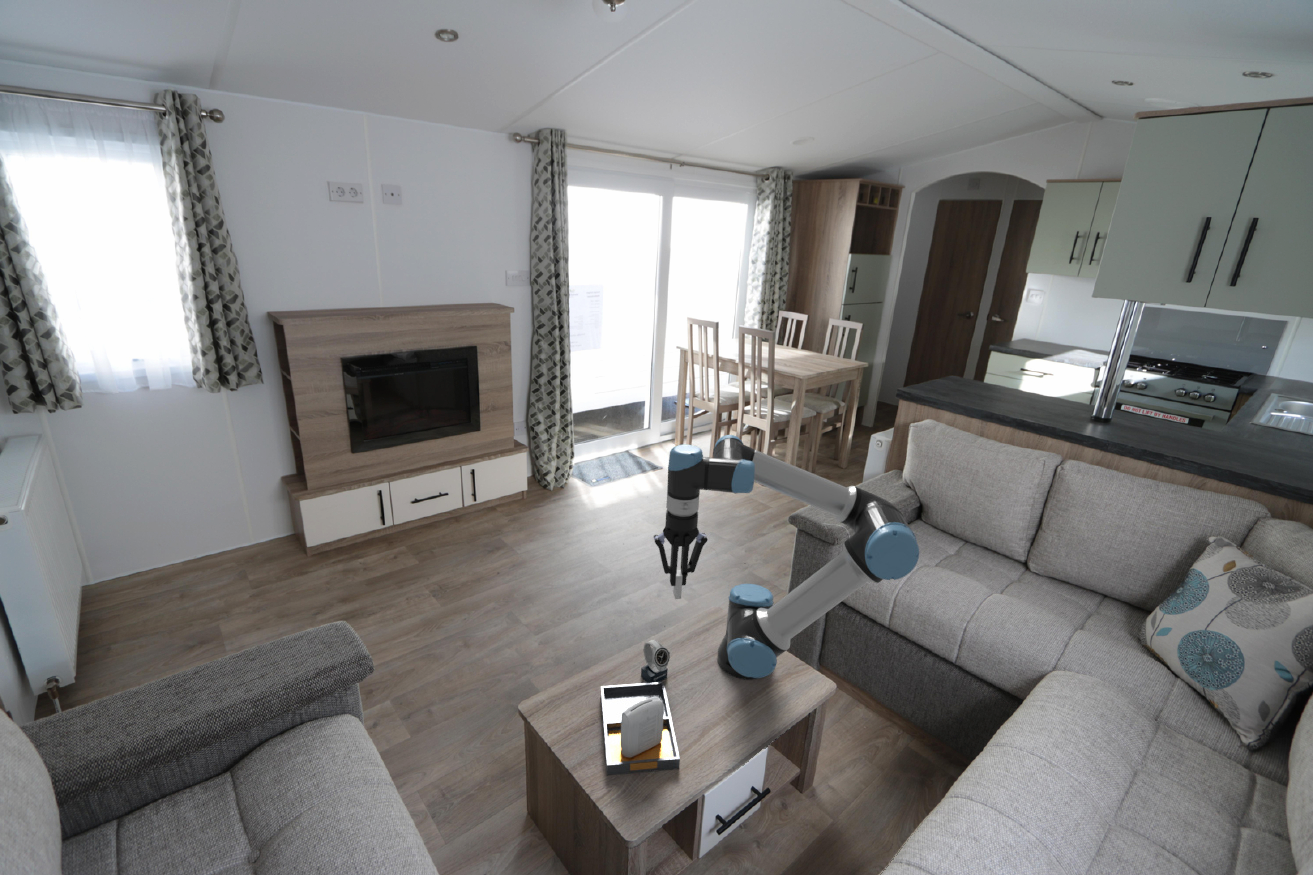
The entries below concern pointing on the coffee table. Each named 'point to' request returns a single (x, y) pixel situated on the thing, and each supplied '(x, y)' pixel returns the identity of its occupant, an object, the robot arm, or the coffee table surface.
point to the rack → (612, 708)
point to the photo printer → (641, 726)
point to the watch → (655, 662)
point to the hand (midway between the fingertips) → (677, 595)
